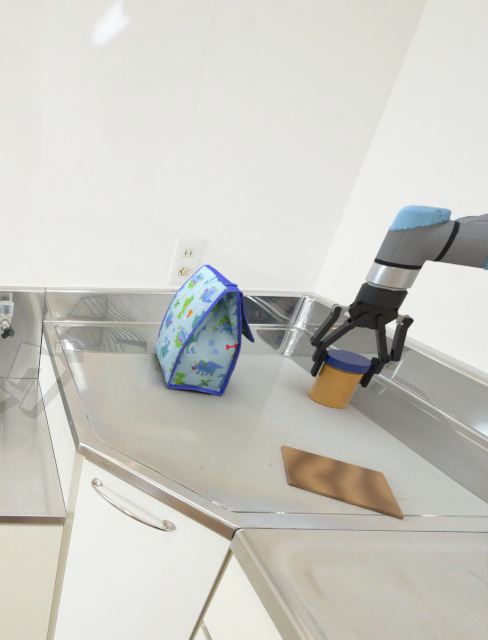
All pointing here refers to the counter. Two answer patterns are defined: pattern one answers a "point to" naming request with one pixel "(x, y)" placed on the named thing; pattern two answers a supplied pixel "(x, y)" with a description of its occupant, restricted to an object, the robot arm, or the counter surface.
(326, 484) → the wooden cutting board
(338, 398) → the jam jar
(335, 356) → the jar lid
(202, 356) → the lunch bag
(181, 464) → the counter surface
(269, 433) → the counter surface
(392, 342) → the robot arm
